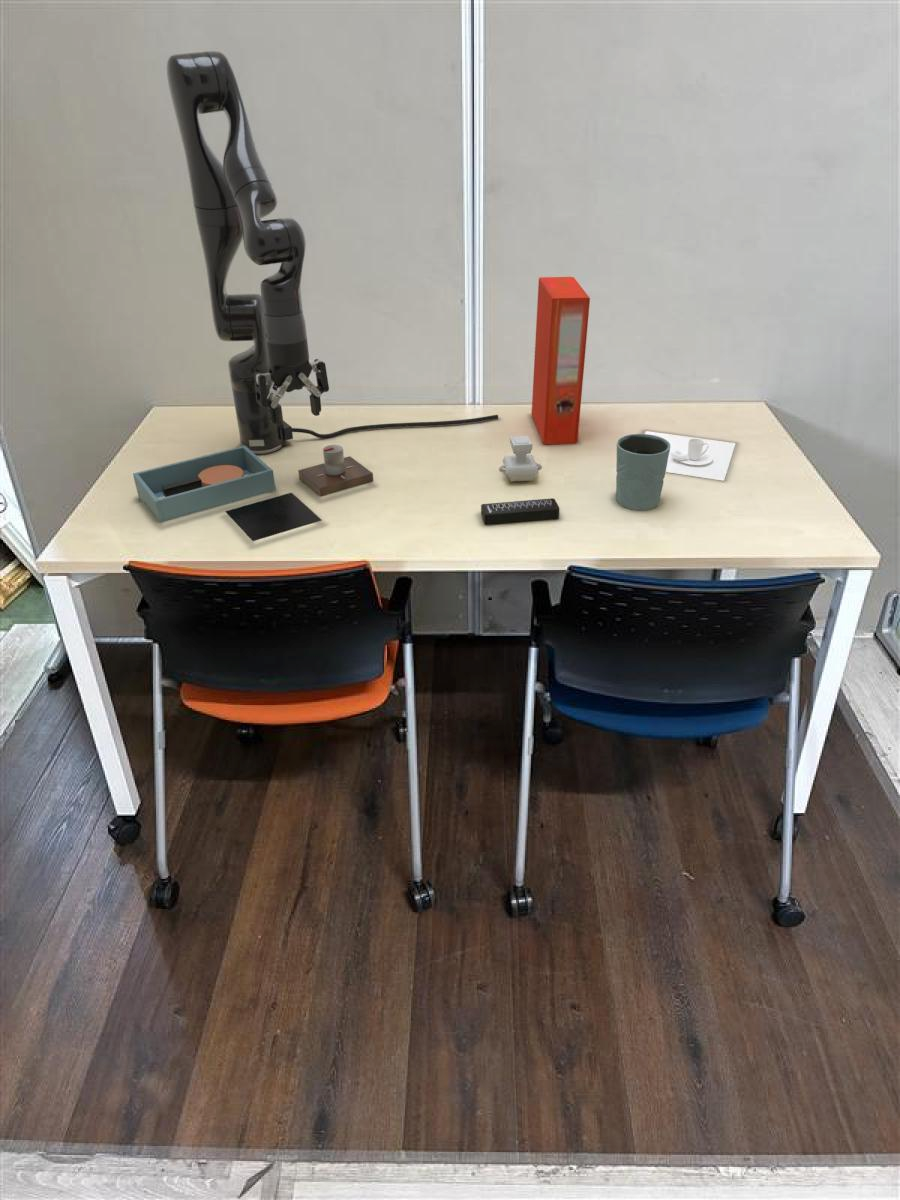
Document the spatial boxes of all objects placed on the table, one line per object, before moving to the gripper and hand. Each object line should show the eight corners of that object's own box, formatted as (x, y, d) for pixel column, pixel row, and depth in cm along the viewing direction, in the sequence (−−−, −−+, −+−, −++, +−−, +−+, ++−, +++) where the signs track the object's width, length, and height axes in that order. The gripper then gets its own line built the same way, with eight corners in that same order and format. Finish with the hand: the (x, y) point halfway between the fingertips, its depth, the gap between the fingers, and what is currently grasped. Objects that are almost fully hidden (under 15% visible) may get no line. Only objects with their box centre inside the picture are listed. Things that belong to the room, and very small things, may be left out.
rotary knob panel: (351, 468, 183) (349, 455, 181) (373, 486, 176) (372, 472, 175) (299, 483, 178) (298, 469, 176) (321, 501, 171) (319, 487, 169)
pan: (236, 476, 180) (233, 459, 177) (252, 492, 173) (249, 475, 171) (159, 496, 172) (155, 479, 170) (173, 514, 166) (169, 496, 164)
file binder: (564, 414, 207) (573, 276, 189) (578, 443, 193) (590, 297, 175) (531, 415, 206) (537, 277, 188) (543, 444, 192) (550, 298, 174)
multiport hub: (559, 519, 164) (560, 508, 162) (484, 525, 162) (484, 514, 161) (553, 508, 167) (554, 497, 166) (480, 514, 166) (480, 503, 164)
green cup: (631, 516, 164) (638, 458, 157) (600, 495, 172) (605, 439, 165) (673, 504, 168) (682, 447, 161) (641, 484, 175) (648, 429, 169)
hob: (292, 497, 173) (291, 492, 172) (322, 525, 163) (322, 520, 162) (225, 516, 166) (224, 511, 166) (253, 546, 157) (252, 541, 156)
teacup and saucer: (667, 463, 183) (670, 445, 181) (674, 448, 189) (676, 431, 187) (709, 469, 180) (712, 451, 178) (715, 454, 187) (718, 437, 184)
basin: (248, 469, 184) (245, 445, 181) (276, 495, 174) (272, 470, 170) (138, 498, 173) (132, 473, 170) (161, 527, 163) (155, 501, 160)
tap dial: (339, 465, 178) (337, 441, 175) (348, 472, 175) (346, 448, 172) (322, 470, 176) (319, 446, 173) (330, 477, 173) (328, 453, 170)
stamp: (500, 486, 176) (501, 447, 171) (496, 472, 181) (497, 434, 176) (544, 483, 176) (546, 445, 171) (538, 469, 182) (540, 432, 177)
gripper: (259, 348, 152) (271, 434, 161) (330, 333, 159) (337, 416, 168) (241, 338, 157) (254, 422, 166) (311, 324, 164) (319, 405, 173)
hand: (296, 419), depth 167 cm, fingers open, 8 cm apart
